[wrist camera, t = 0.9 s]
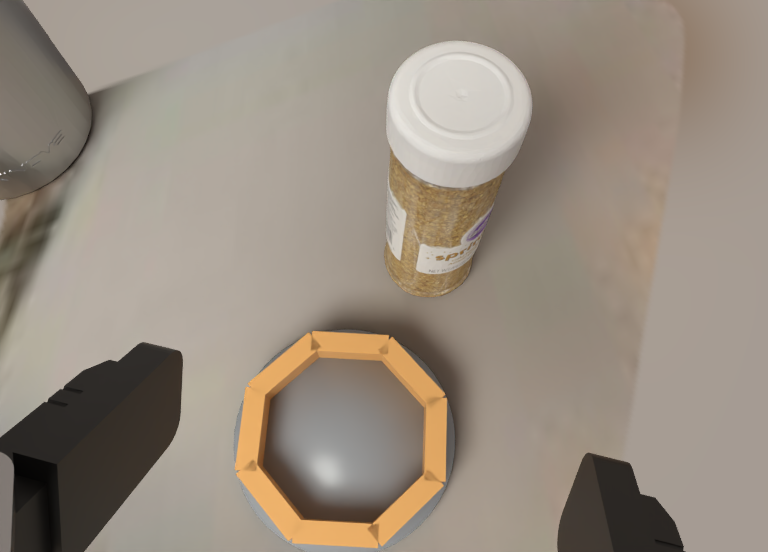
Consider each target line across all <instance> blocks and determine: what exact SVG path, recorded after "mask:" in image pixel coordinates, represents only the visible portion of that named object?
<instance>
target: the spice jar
mask: <svg viewBox="0 0 768 552" xmlns="http://www.w3.org/2000/svg"><path fill="white" fill-rule="evenodd" d="M532 108H533V103H532V94H531V90H530V87H529V85H528V83H527V80H526V78H525V77H524V75H523V73H522V72H521V71H520V69H519V68H518V67H517V66H516V65H515V64H514V63H513V62H512V61H511V60H510V59H509V58H507V57H506V56H505V55H503V54H502V53H501V52H499V51H497V50H495V49H493V48H491V47H488V46H485V45H482V44H479V43H474V42H469V41H445V42H440V43H436V44H433V45H430V46H427V47H424V48H422V49H421V50H419V51H417V52H415V53H414V54H413V55H411V56H410V57H409V58H408V59H406V60H405V61H404V62H403V63H402V65H401V66H400V67H399V69H398V70H397V71H396V73H395V75H394V77H393V79H392V82H391V84H390V88H389V93H388V101H387V117H386V131H387V138H388V141H389V145H390V149H391V153H390V164H389V170H388V184H387V213H386V236H387V242H386V246H385V250H384V258H385V264H386V268H387V270H388V272H389V274H390V276H391V277H392V280H393V281H394V282H395V283H397V285H398V286H399V287H401V288H402V289H403V290H404V291H406V292H407V293H410V294H413V295H416V296H420V297H436V296H442V295H445V294H447V293H449V292H451V291H452V290H454V289H456V288H457V287H458V286H460V285H461V284H462V283H463V281H464V280H465V279H466V278H467V276H468V274H469V271H470V269H471V264H472V257H473V255H474V253H475V251H476V249H477V248H478V245H479V243H480V240H481V237H482V235H483V232H484V230H485V227H486V224H487V222H488V219H489V217H490V214H491V211H492V208H493V206H494V203H495V197H496V195H497V192H498V189H499V186H500V184H501V181H502V178H503V175H504V173H505V171H506V169H507V168H508V167H509V166H510V165H511V164H512V162H513V161H514V159H515V158H516V156H517V154H518V152H519V150H520V148H521V145H522V143H523V141H524V138H525V135H526V133H527V130H528V127H529V124H530V121H531V116H532Z"/></svg>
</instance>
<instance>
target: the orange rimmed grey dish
mask: <svg viewBox="0 0 768 552" xmlns="http://www.w3.org/2000/svg"><path fill="white" fill-rule="evenodd" d="M248 385H249V386H250V387H246V388H245V396H244V399H243V401H242V404H241V407H240V410H239V413H238V416H237V421H236V427H235V434H234V459H235V470H237V473H236V475H237V476H238V478H239V481H240V484H241V487H242V490H243V492H244V494H245V496H246V498H247V500H248V502H249V504H250V506H251V507H252V509H253V510H254V512H255V513H256V515H257V516H258V517H259V518H260V519H261V521H262V522H263V523H264V524H265V525H266V526H267V527H268V528H269V529H270V530H271V531H273V532H274V533H275V534H276V535H277V536H278V537H280V538H281V539H283V540H285V541H286V542H288V543H289V544H291V545H293V546H295V547H297V548H300V549H302V550H304V551H306V552H377V551H381V550H383V549H385V548H387V547H389V546H392V545H394V544H396V543H397V542H399V541H400V540H402V539H403V538H405V537H407V536H408V535H409V534H410V533H412V532H413V531H414V530H415V529H416V528H417V527H419V526H420V525H421V524H422V523H423V521H424V520H425V519H426V518H427V517H428V516H429V515H430V513H431V512H432V511H433V509H434V508H435V506H436V505H437V503H438V502H439V500H440V498H441V496H442V494H443V492H444V490H445V488H446V485H447V483H448V480H449V477H450V474H451V470H452V465H453V460H454V452H455V429H454V422H453V417H452V412H451V409H450V406H449V403H448V399H447V397H446V395H445V393H444V391H443V388H442V386H441V385H440V383H439V382H438V380H437V378H436V377H435V375H434V374H433V372H432V371H431V370H430V369H429V368H428V366H427V365H426V364H425V363H424V362H423V361H422V360H421V359H420V358H419V357H418V356H417V355H416V354H414V353H413V352H412V351H410V350H409V349H408V348H406V347H405V346H403V345H401V344H400V343H398V342H397V341H396V340H395V339H394V338H393V337H391V338H389V335H380V334H376V333H372V332H368V331H362V330H353V329H347V330H332V331H325V332H320V331H312V335H311V334H310V333H309V332H308V333H307V334H306V335H305V336H304V337H302V338H301V339H300V340H299V341H297V342H295V343H293V344H292V345H290V346H288V347H287V348H285V349H284V350H282V351H281V352H280V353H278V354H277V355H276V356H275V357H274V358H273V359H271V360H270V361H269V362H268V363H267V364H266V365H265V366H264V368H263V369H262V370H261V371H260V372H259V374H258V375H257V376H256V377H255V378H254V379H252V380H251V381H250V382H249V383H248Z"/></svg>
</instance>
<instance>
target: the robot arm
mask: <svg viewBox="0 0 768 552" xmlns="http://www.w3.org/2000/svg"><path fill="white" fill-rule="evenodd" d="M91 117H92V110H91V105H90V100H89V96H88V94H87V92H86V91H85V88H84V86H83V85H82V83H81V82H80V80H79V79H78V78H77V76H76V75H75V73H74V72H73V71H72V69H71V68H70V66H69V65H68V64H67V62H66V61H65V59H64V58H63V57H62V55H61V54H60V53H59V51H58V50H57V48H56V47H55V45H54V44H53V43H52V41H51V40H50V38H49V36H48V35H47V34H46V32H45V31H44V29H43V28H42V27H41V25H40V24H39V22H38V21H37V20H36V18H35V17H34V15H33V14H32V13H31V11H30V10H29V8H28V7H27V6H26V4H25V3H24V1H23V0H0V200H4V199H10V198H16V197H19V196H21V195H24V194H27V193H30V192H33V191H35V190H37V189H39V188H40V187H42V186H44V185H46V184H48V183H49V182H51V181H52V180H54V179H55V178H56V177H57V176H59V175H60V174H61V173H62V172H64V171H65V170H66V169H67V168H68V167H69V166H70V164H71V163H72V162H73V161H74V160H75V159H76V157H77V156H78V155H79V153H80V151H81V149H82V148H83V146H84V144H85V142H86V140H87V137H88V134H89V131H90V127H91ZM182 369H183V358H182V354H181V352H180V351H178V350H174V349H170V348H166V347H162V346H157V345H153V344H149V343H145V342H142V343H140V344H138V345H137V346H136V347H135V348H133V349H132V350H131V351H130V352H129V353H128V354H126V355H125V356H124V357H123V358H122V359H121V360H119V361H118V362H116V361H112V360H108V361H106V362H103V363H101V364H98V365H96V366H93V367H91V368H89V369H86V370H84V371H82V372H81V373H80V374H79V375H77V376H76V377H75V378H74V379H72V380H71V381H70V382H69V383H67V384H66V385H65V386H64V389H63V390H62V389H60V390H59V391H57V392H56V393H55V394H54V395H53V396H51V397H50V398H49V399H48V402H47V403H46V402H44V403H43V404H41V405H40V406H39V407H38V408H36V409H35V410H34V411H33V412H31V413H30V414H29V415H28V416H26V417H25V418H24V419H23V420H22V421H20V422H19V423H18V424H17V425H15V426H14V427H13V428H12V429H10V430H9V431H8V432H7V433H5V434H4V435H3V436H2V437H0V552H84V551H85V550H86V549H87V547H88V546H89V545H90V544H91V542H92V541H93V540H94V539H95V537H96V536H97V535H98V534H99V532H100V531H101V530H102V529H103V527H104V526H105V525H106V524H107V522H108V521H109V520H110V519H111V517H112V516H113V515H114V514H115V512H116V511H117V510H118V509H119V508H120V506H121V505H122V504H123V503H124V501H125V500H126V499H127V498H128V496H129V495H130V494H131V493H132V491H133V490H134V489H135V488H136V486H137V485H138V484H139V483H140V481H141V480H142V479H143V478H144V476H145V475H146V474H147V473H148V471H149V470H150V469H151V468H152V466H153V465H154V464H155V463H156V461H157V460H158V459H159V458H160V456H161V455H162V454H163V453H164V451H165V450H166V449H167V448H168V446H169V445H170V443H171V442H172V440H173V438H174V436H175V434H176V431H177V428H178V425H179V421H180V413H181V391H182ZM557 546H558V552H685V551H683V547H684V546H683V544H682V541H681V538H680V535H679V532H678V530H677V527H676V524H675V522H674V521H673V519H672V518H671V517H670V516H669V514H668V513H667V512H666V511H665V509H664V508H663V507H662V506H661V504H660V503H659V502H658V501H657V500H656V498H654V497H650V496H645V495H642V494H640V492H639V488H638V485H637V482H636V479H635V476H634V472H633V469H632V467H631V465H630V463H628V462H624V461H620V460H616V459H612V458H608V457H604V456H600V455H596V454H592V453H587V454H586V455H585V456H584V458H583V459H582V462H581V464H580V467H579V470H578V472H577V475H576V478H575V480H574V483H573V486H572V488H571V491H570V494H569V497H568V499H567V502H566V505H565V507H564V510H563V513H562V516H561V519H560V524H559V530H558V542H557Z"/></svg>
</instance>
